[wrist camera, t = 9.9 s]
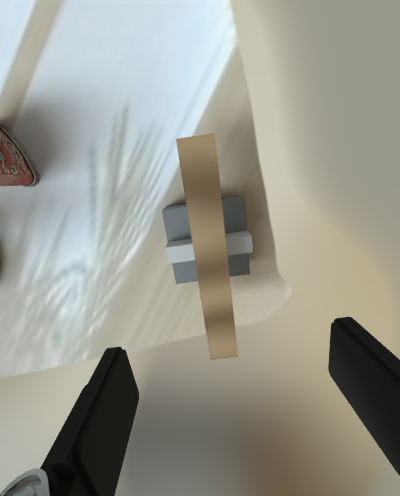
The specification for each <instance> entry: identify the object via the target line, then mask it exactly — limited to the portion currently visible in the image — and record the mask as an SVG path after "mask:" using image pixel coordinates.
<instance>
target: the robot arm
mask: <svg viewBox="0 0 400 496" xmlns="http://www.w3.org/2000/svg"><path fill="white" fill-rule="evenodd" d="M328 368H329V373H330V375H331V377H332V379H333V380H334V381H335V383H336V385H337V386H338V387H339V389H340V390H341V392H342V393H343V395H344V396H345V398H346V399H347V401H348V402H349V403H350V404H351V406H352V408H353V409H354V411H355V412H356V414H357V415H358V416H359V418H360V419H361V421H362V422H363V424H364V425H365V427H366V428H367V430H368V431H369V432H370V434H371V435H372V437H373V438H374V440H375V441H376V443H377V444H378V446H379V447H380V448H381V450H382V451H383V452H384V454H385V456H386V457H387V459H388V460H389V462H390V463H391V464H392V466H393V467H394V469H395V470H396V471H397V473H398V474H399V475H400V360H399V359H398V358H397V357H396V356H395V355H394V354H392V353H391V352H390V351H389V350H388V349H387V348H386V347H385V346H383V345H382V344H381V343H380V342H379V341H377V339H376V338H374V337H373V336H372V335H371V334H370V333H369V332H368V331H366V330H365V329H364V328H363V327H362V326H361V325H360V324H359V323H357V322H356V321H355V320H354V319H353V318H351V317H344V318H337V319H335V320H334V322H333V323H332V324H331V336H330V351H329V367H328ZM138 400H139V391H138V388H137V385H136V382H135V379H134V376H133V372H132V369H131V366H130V363H129V360H128V356H127V353H126V351H125V350H122V348H121V347H114V348H107V349H106V350H105V352H104V354H103V356H102V358H101V360H100V362H99V364H98V365H97V367H96V369H95V371H94V373H93V375H92V377H91V379H90V381H89V383H88V384H87V385H86V386H85V387H84V388H83V390H82V392H81V394H80V396H79V397H78V399H77V401H76V403H75V405H74V407H73V409H72V411H71V412H70V414H69V416H68V418H67V420H66V422H65V424H64V426H63V427H62V429H61V431H60V433H59V434H58V436H57V438H56V440H55V442H54V444H53V446H52V448H51V449H50V451H49V453H48V455H47V457H46V459H45V461H44V462H43V464H42V466H41V468H40V469H32V470H29V471H27V472H25V473H23V474H22V475H20V476H19V477H17V478H16V479H15V480H14V481H12V482H11V483H10V484H9V485H8V486H7V487H6V488H5V489H4V490H3V492H2V493H1V494H0V496H114V495H115V490H116V487H117V483H118V479H119V475H120V472H121V467H122V463H123V460H124V456H125V452H126V448H127V444H128V440H129V436H130V432H131V429H132V425H133V421H134V417H135V413H136V409H137V405H138Z"/></svg>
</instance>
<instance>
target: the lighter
mask: <svg viewBox="0 0 400 496" xmlns="http://www.w3.org/2000/svg"><path fill="white" fill-rule="evenodd" d="M39 181H40V176H39V173H38V171H37V169H36V167H35V165H34V163H33V161H32V160H31V158H30V157H29V155H28V154H27V152H26V150H25V149H24V148H23V146H22V145H21V144H20V143H19V141H18V140H17V139H16V138H15V137H14V135H13V134H12V133H11V132H10V131H9V130H8V129H7V128H6V127H5V126H4V125H2V124H0V186H18V185H21V186H24V187H32V186H35V185H37V184H38V183H39Z"/></svg>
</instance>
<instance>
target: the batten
mask: <svg viewBox="0 0 400 496" xmlns="http://www.w3.org/2000/svg"><path fill="white" fill-rule="evenodd" d="M176 141H177V147H178V154H179V160H180V167H181V173H182V179H183V186H184V192H185V199H186V205H187V211H188V218H189V224H190V231H191V237H192V243H193V250H194V256H195V263H196V269H197V275H198V282H199V288H200V295H201V301H202V307H203V314H204V320H205V327H206V333H207V339H208V346H209V352H210V359H211V360H213V359H221V358H229V357H237V356H238V353H237V343H236V333H235V324H234V314H233V305H232V295H231V286H230V276H229V267H228V257H227V248H226V238H225V228H224V219H223V209H222V200H221V190H220V181H219V171H218V162H217V152H216V143H215V133H213V134H206V135H200V136H193V137H186V138H180V139H176Z"/></svg>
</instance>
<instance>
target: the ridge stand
mask: <svg viewBox="0 0 400 496" xmlns="http://www.w3.org/2000/svg"><path fill="white" fill-rule="evenodd" d="M221 200H222V209H223V219H224V228H225V238H226V248H227V257H228V267H229V276H230V277H231V276H238V275H246V274H250V269H249V256H248V253H250V252H253V248H252V235H251V234H249V233H248V232H247V229H246V215H245V202H244V198H242V197H239V196H234V197H228V198H221ZM162 213H163V218H164V224H165V229H166V234H167V239H168V243H167V245H166V247H165V249H166V254H167V259H168V263H169V264H170V263H172V264H173V270H174V275H175V280H176V284H179V283H187V282H194V281H198V275H197V269H196V263H195V256H194V250H193V243H192V237H191V231H190V224H189V218H188V211H187V205H186V204H179V205H173V206H166V207H165V208H164V209H163V210H162Z"/></svg>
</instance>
